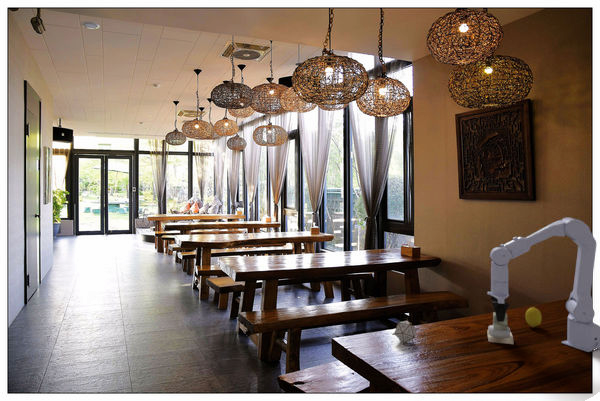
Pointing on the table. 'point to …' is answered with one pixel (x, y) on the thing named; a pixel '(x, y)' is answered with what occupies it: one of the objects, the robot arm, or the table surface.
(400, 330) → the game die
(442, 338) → the table surface
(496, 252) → the robot arm
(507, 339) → the birch slab
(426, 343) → the table surface
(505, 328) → the sage cube
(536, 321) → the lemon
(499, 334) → the grey puck
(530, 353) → the table surface
